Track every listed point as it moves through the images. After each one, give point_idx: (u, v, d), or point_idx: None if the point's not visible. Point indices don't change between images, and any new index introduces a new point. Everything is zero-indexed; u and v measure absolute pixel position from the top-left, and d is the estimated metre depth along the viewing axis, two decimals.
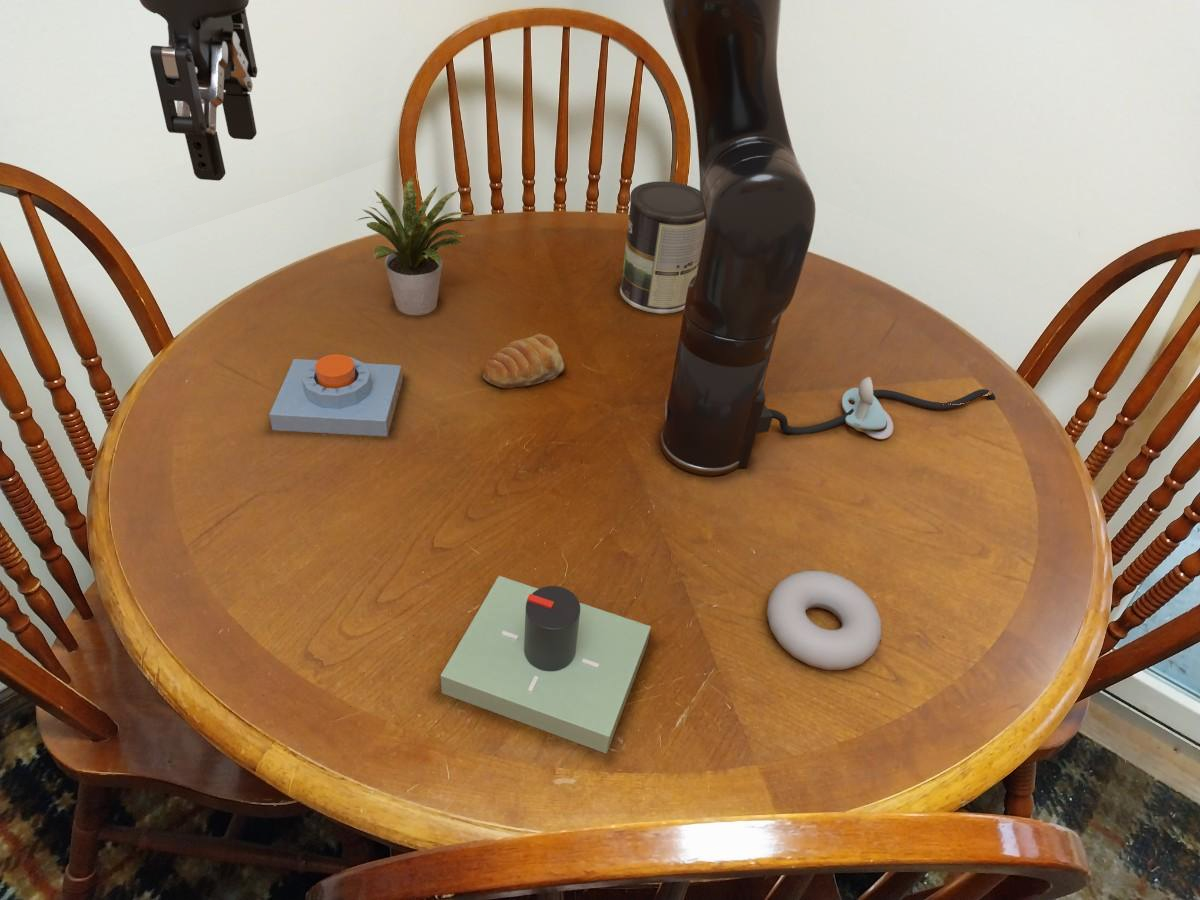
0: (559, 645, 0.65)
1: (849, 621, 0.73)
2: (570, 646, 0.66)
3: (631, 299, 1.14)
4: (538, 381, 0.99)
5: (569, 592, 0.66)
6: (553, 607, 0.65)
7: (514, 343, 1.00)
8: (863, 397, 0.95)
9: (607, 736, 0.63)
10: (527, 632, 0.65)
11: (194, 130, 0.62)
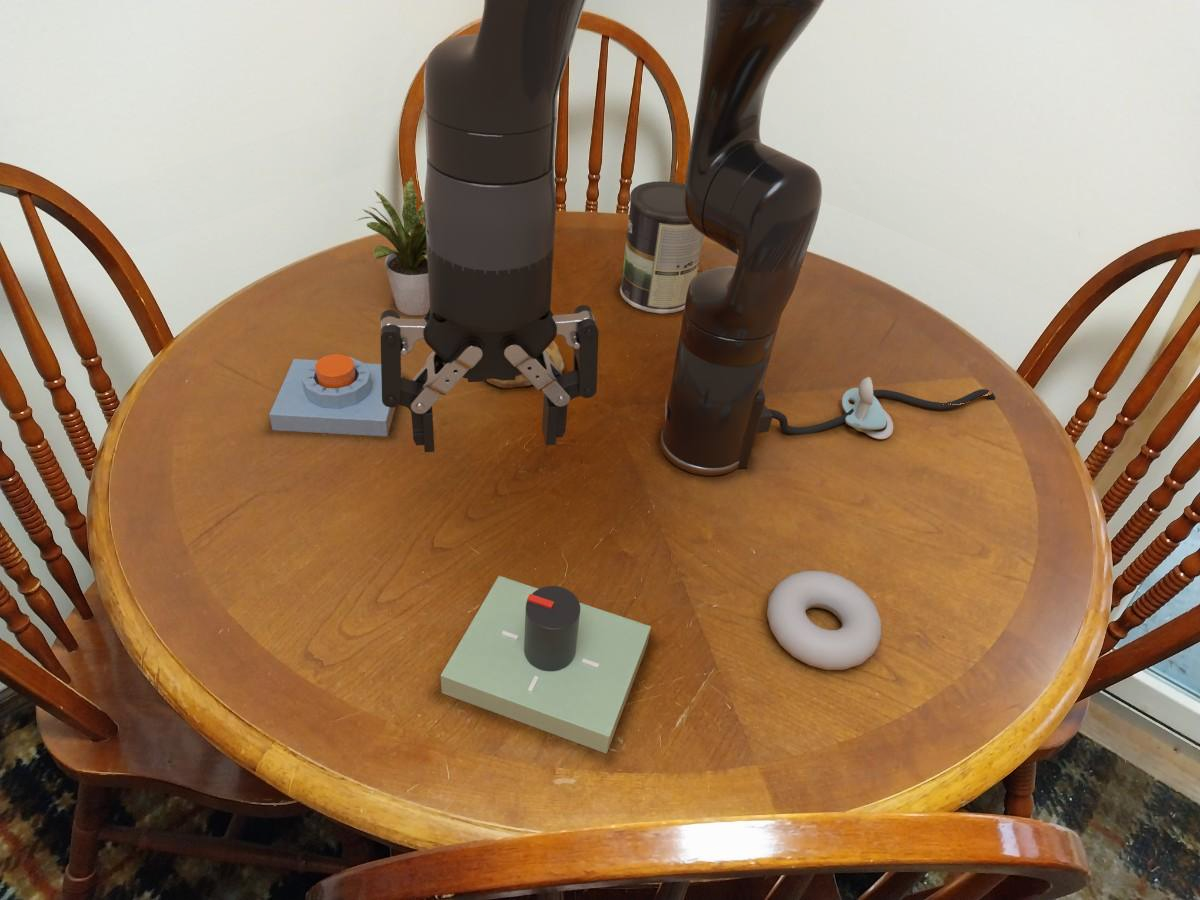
0: (559, 645, 0.65)
1: (849, 621, 0.73)
2: (570, 646, 0.66)
3: (631, 299, 1.14)
4: None
5: (569, 592, 0.66)
6: (553, 607, 0.65)
7: None
8: (863, 397, 0.95)
9: (607, 736, 0.63)
10: (527, 632, 0.65)
11: None
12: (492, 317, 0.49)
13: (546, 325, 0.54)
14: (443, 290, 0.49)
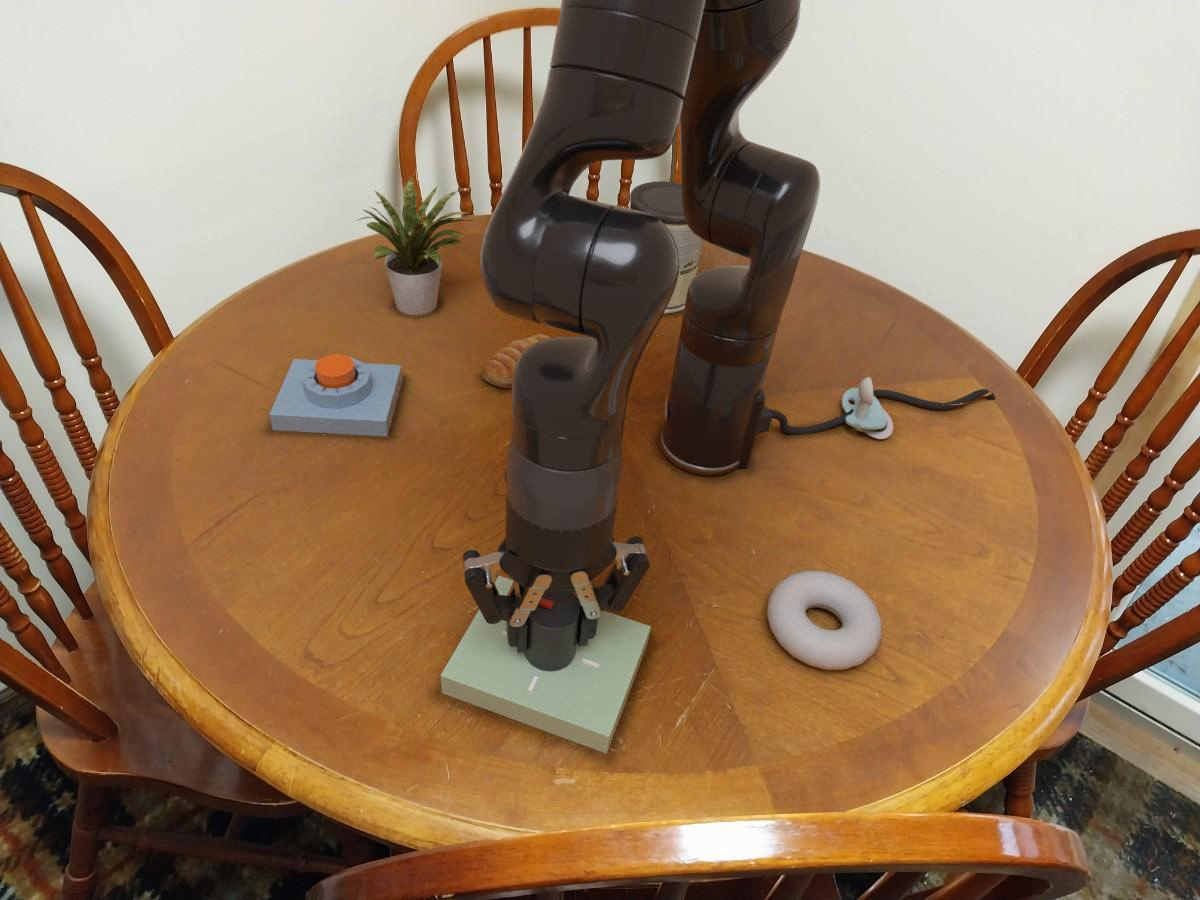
0: (559, 645, 0.65)
1: (849, 621, 0.73)
2: (570, 646, 0.66)
3: None
4: None
5: None
6: (553, 607, 0.65)
7: (514, 343, 1.00)
8: (863, 397, 0.95)
9: (607, 736, 0.63)
10: (527, 632, 0.65)
11: None
12: (565, 562, 0.56)
13: (611, 553, 0.60)
14: (521, 538, 0.56)
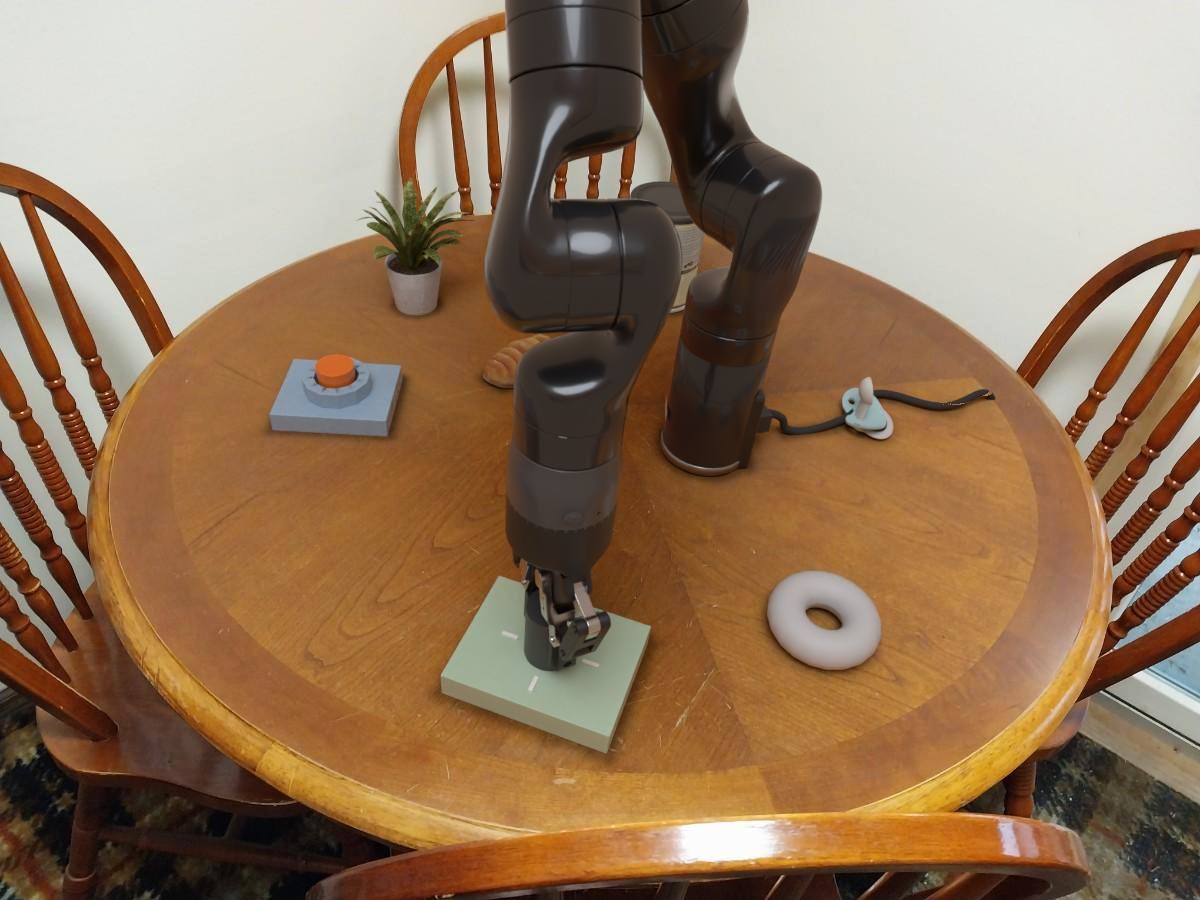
0: None
1: (849, 621, 0.73)
2: None
3: None
4: None
5: (529, 599, 0.65)
6: None
7: (514, 343, 1.00)
8: (863, 397, 0.95)
9: (607, 736, 0.63)
10: None
11: (589, 651, 0.61)
12: None
13: None
14: (609, 532, 0.57)
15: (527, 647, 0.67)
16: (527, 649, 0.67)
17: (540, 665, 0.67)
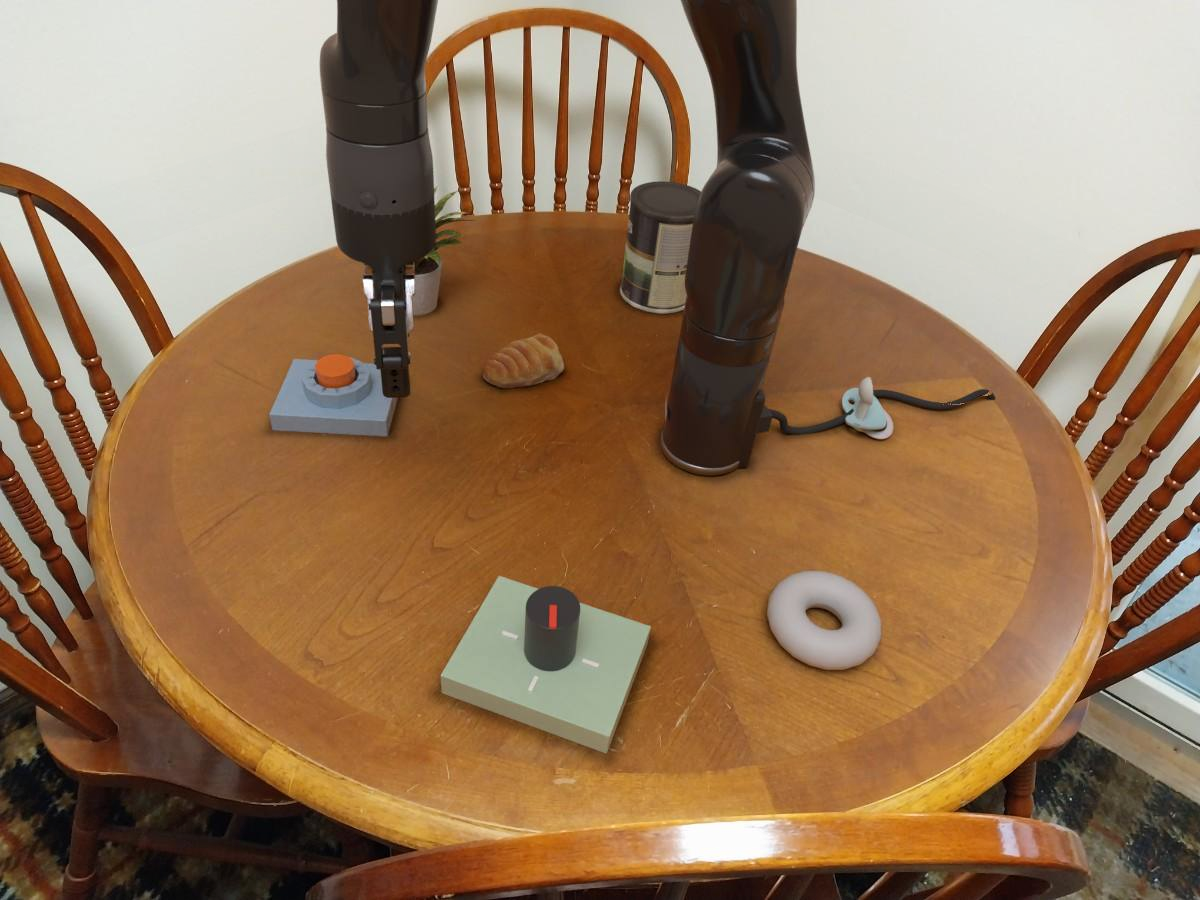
0: None
1: (849, 621, 0.73)
2: None
3: (631, 299, 1.14)
4: (538, 381, 0.99)
5: (529, 599, 0.65)
6: (554, 606, 0.65)
7: (514, 343, 1.00)
8: (863, 397, 0.95)
9: (607, 736, 0.63)
10: (571, 639, 0.65)
11: (402, 365, 0.65)
12: (435, 231, 0.66)
13: None
14: (416, 235, 0.63)
15: (527, 647, 0.67)
16: (527, 649, 0.67)
17: (540, 665, 0.67)
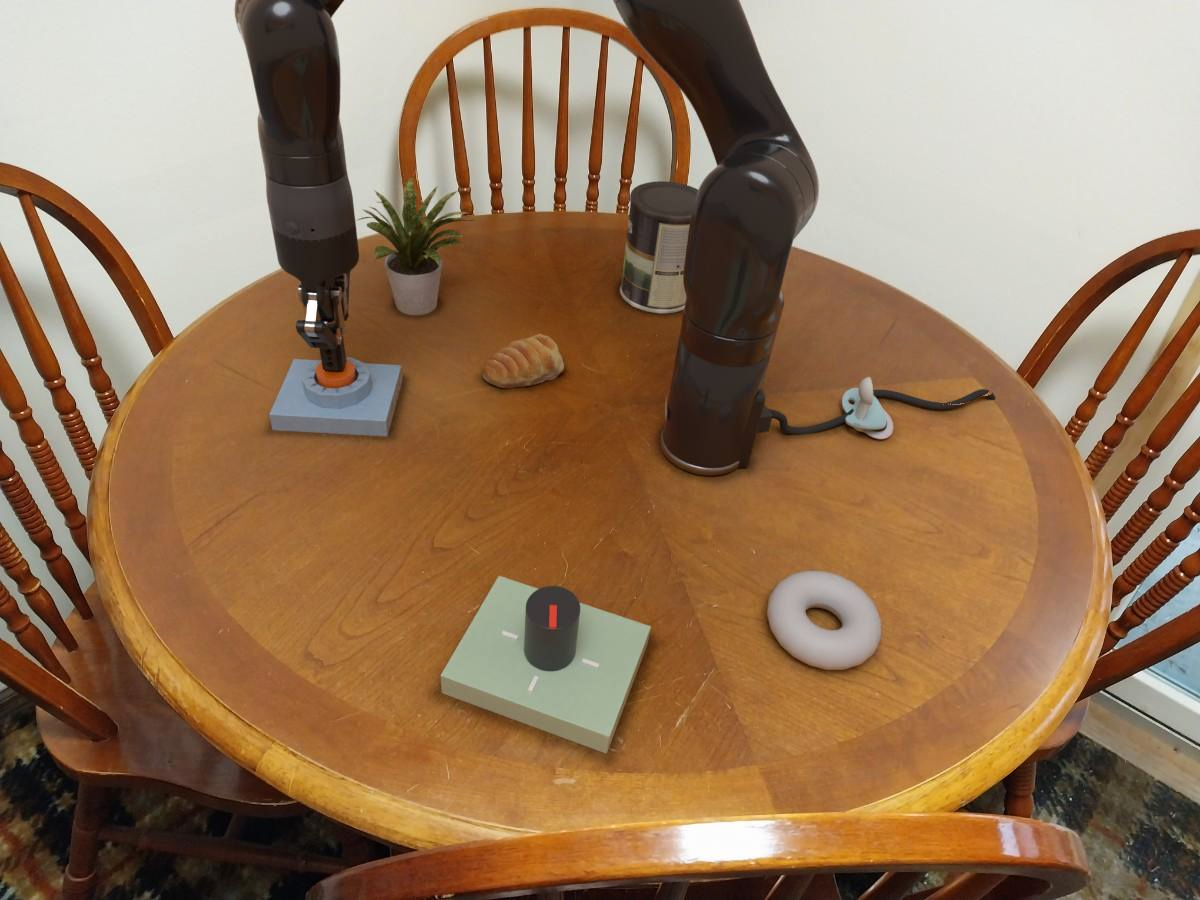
0: None
1: (849, 621, 0.73)
2: None
3: (631, 299, 1.14)
4: (538, 381, 0.99)
5: (529, 599, 0.65)
6: (554, 606, 0.65)
7: (514, 343, 1.00)
8: (863, 397, 0.95)
9: (607, 736, 0.63)
10: (571, 639, 0.65)
11: (329, 346, 0.85)
12: (356, 254, 0.81)
13: None
14: (333, 257, 0.78)
15: (527, 647, 0.67)
16: (527, 649, 0.67)
17: (540, 665, 0.67)
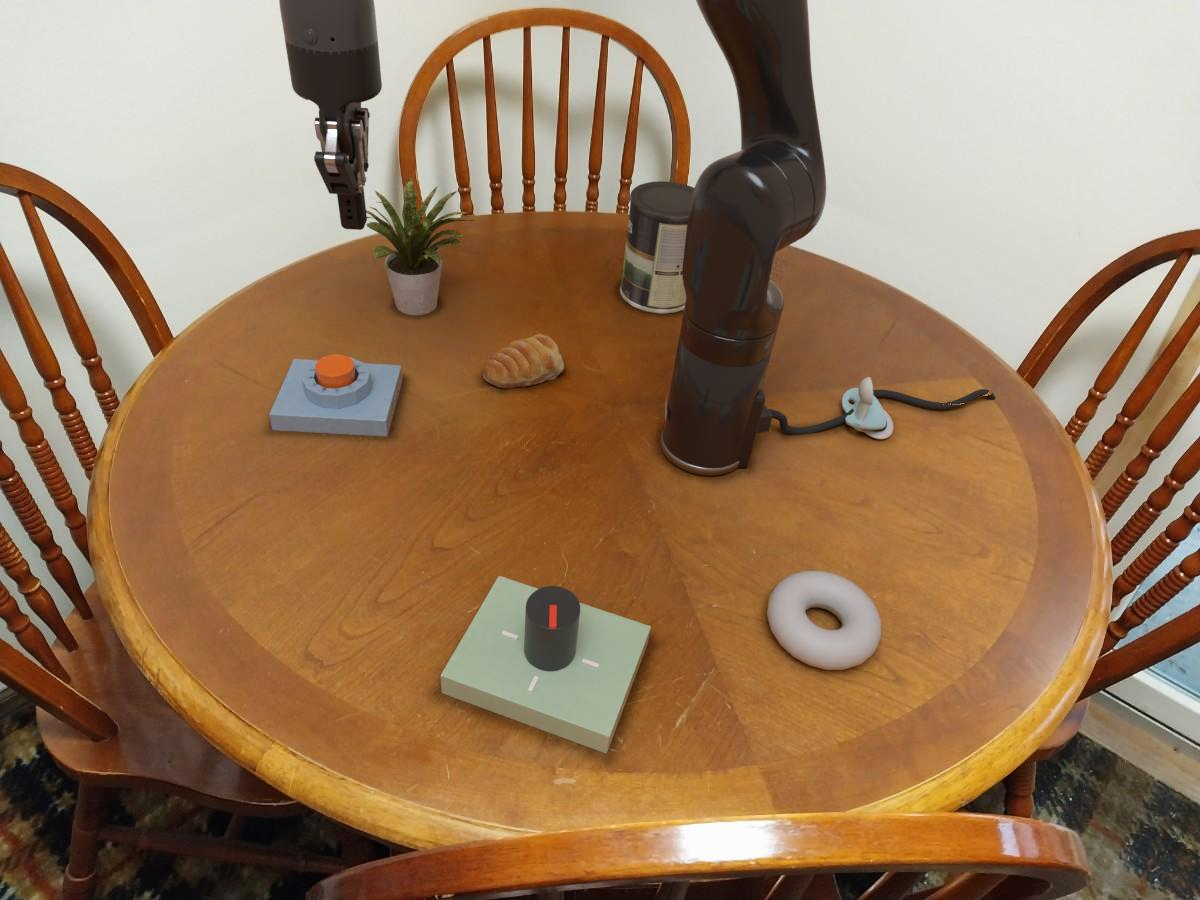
0: None
1: (849, 621, 0.73)
2: None
3: (631, 299, 1.14)
4: (538, 381, 0.99)
5: (529, 599, 0.65)
6: (554, 606, 0.65)
7: (514, 343, 1.00)
8: (863, 397, 0.95)
9: (607, 736, 0.63)
10: (571, 639, 0.65)
11: (350, 191, 0.77)
12: (379, 79, 0.73)
13: None
14: (355, 76, 0.70)
15: (527, 647, 0.67)
16: (527, 649, 0.67)
17: (540, 665, 0.67)
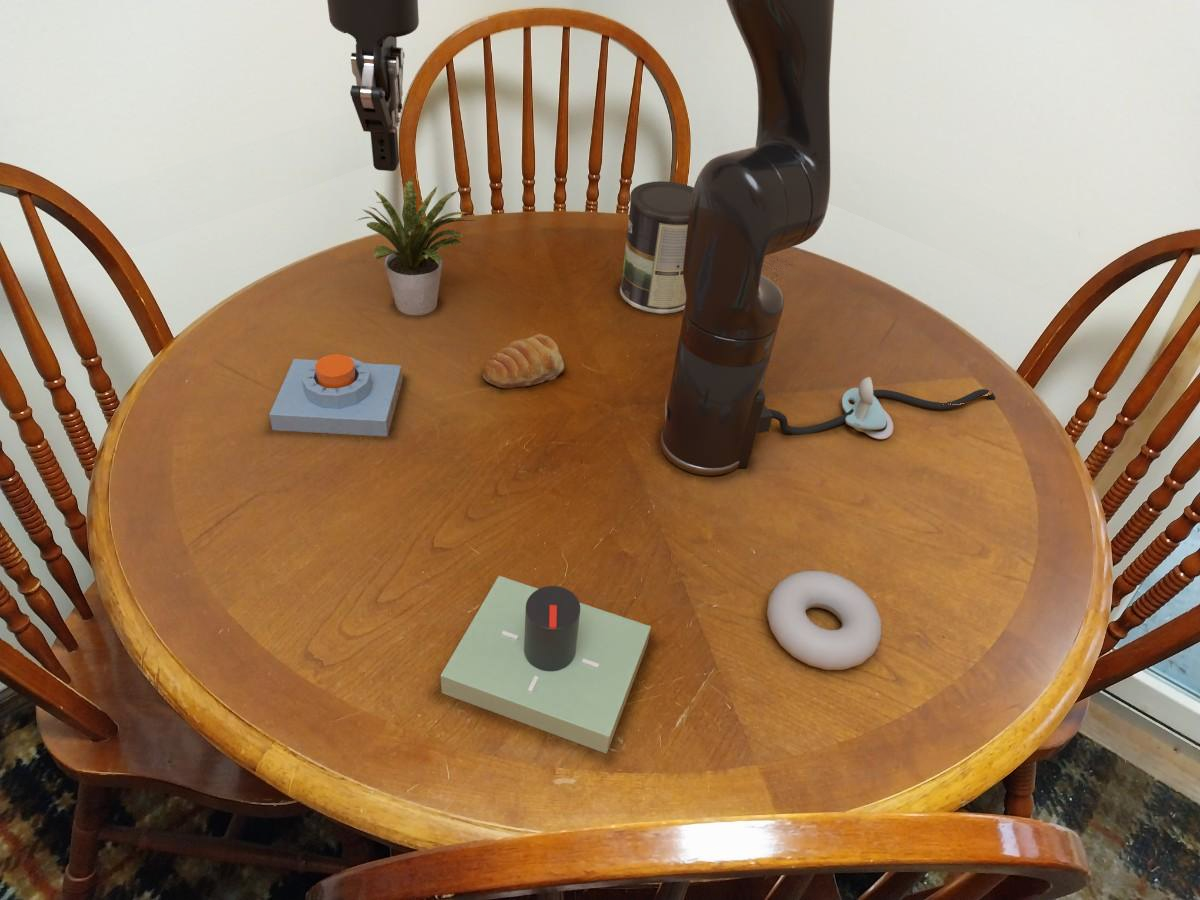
0: None
1: (849, 621, 0.73)
2: None
3: (631, 299, 1.14)
4: (538, 381, 0.99)
5: (529, 599, 0.65)
6: (554, 606, 0.65)
7: (514, 343, 1.00)
8: (863, 397, 0.95)
9: (607, 736, 0.63)
10: (571, 639, 0.65)
11: (384, 129, 0.76)
12: (417, 15, 0.73)
13: None
14: (393, 9, 0.70)
15: (527, 647, 0.67)
16: (527, 649, 0.67)
17: (540, 665, 0.67)
